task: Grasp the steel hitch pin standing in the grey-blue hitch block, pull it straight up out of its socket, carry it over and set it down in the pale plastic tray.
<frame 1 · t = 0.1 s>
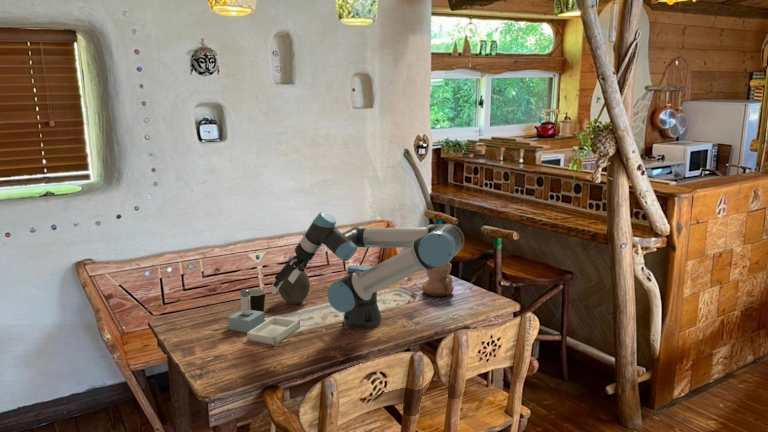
hand: (281, 286, 234), 15 cm above the table, tool tilted 35°, fingers open, 13 cm apart
pin: (246, 308, 232), in the hitch block
coffee mug: (257, 314, 246), on the table
ceramic jug: (438, 294, 271), on the table
tray: (274, 333, 226), on the table
hitch block: (246, 326, 233), on the table
cantaloupe: (294, 302, 260), on the table
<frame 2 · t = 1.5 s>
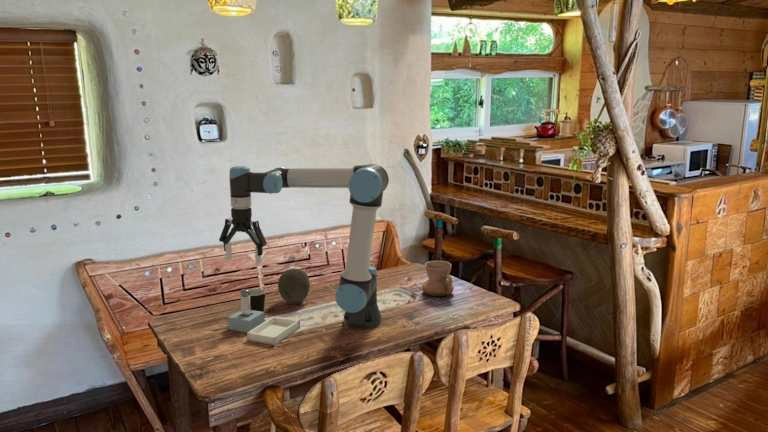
hand: (243, 261, 228), 27 cm above the table, tool pointing down, fingers open, 13 cm apart
nothing on the table moved.
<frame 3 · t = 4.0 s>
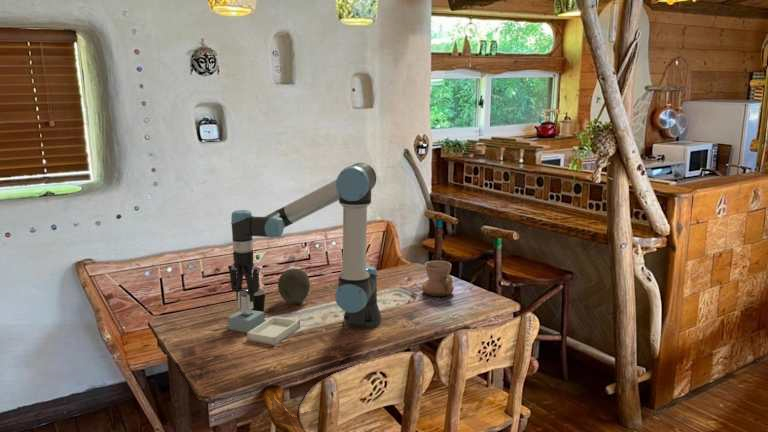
hand: (245, 308, 232), 8 cm above the table, tool pointing down, fingers closed on pin, 4 cm apart
pin: (246, 308, 232), in the hitch block, touching gripper
everything else where it was.
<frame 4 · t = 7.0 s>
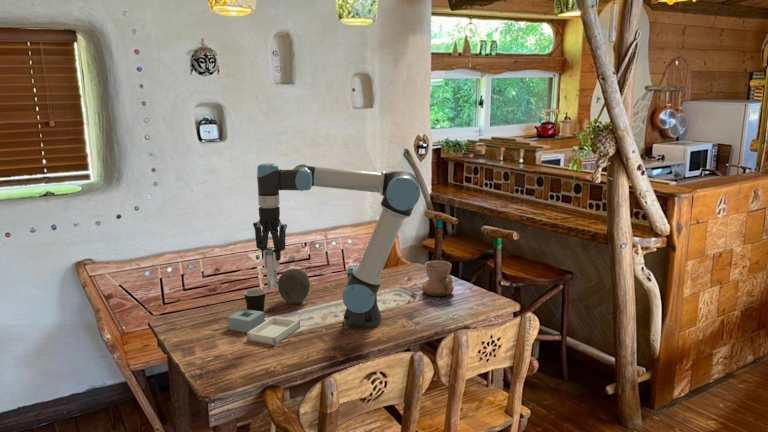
hand: (271, 267, 221), 26 cm above the table, tool pointing down, fingers closed on pin, 4 cm apart
pin: (271, 268, 221), point 26 cm above the table, touching gripper
everything else where it was.
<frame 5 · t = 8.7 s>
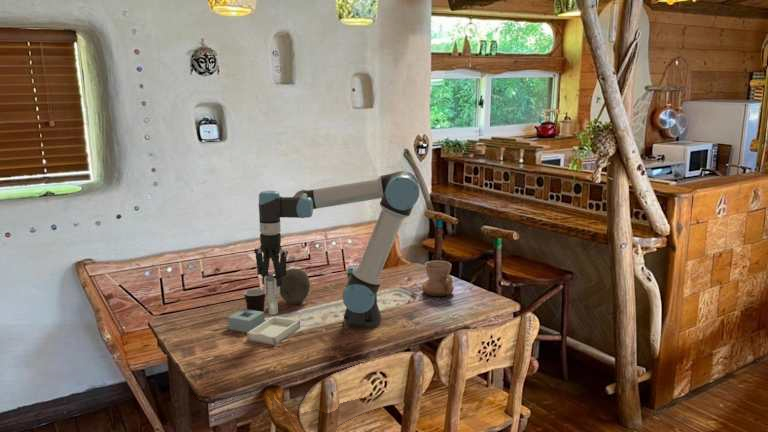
hand: (272, 293, 223), 16 cm above the table, tool pointing down, fingers closed on pin, 4 cm apart
pin: (272, 293, 223), point 16 cm above the table, touching gripper
everything else where it was.
when the fingers open (10 cm above the table, at t = 10.2 s): pin drops 1 cm, resting on tray.
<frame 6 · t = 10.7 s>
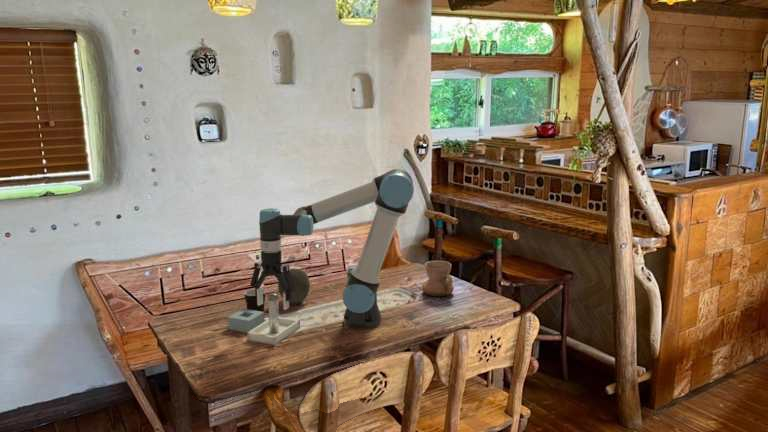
hand: (273, 306, 224), 11 cm above the table, tool pointing down, fingers open, 11 cm apart
pin: (273, 313, 224), in the tray, point 8 cm above the table
everything else where it was.
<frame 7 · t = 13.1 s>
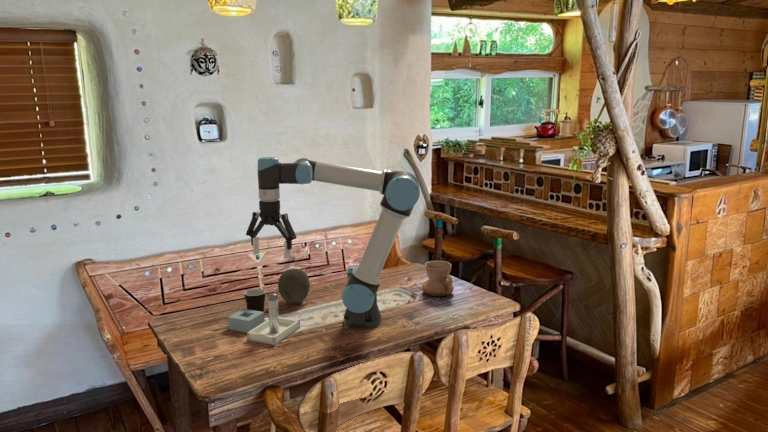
hand: (271, 256, 220), 31 cm above the table, tool pointing down, fingers open, 13 cm apart
nothing on the table moved.
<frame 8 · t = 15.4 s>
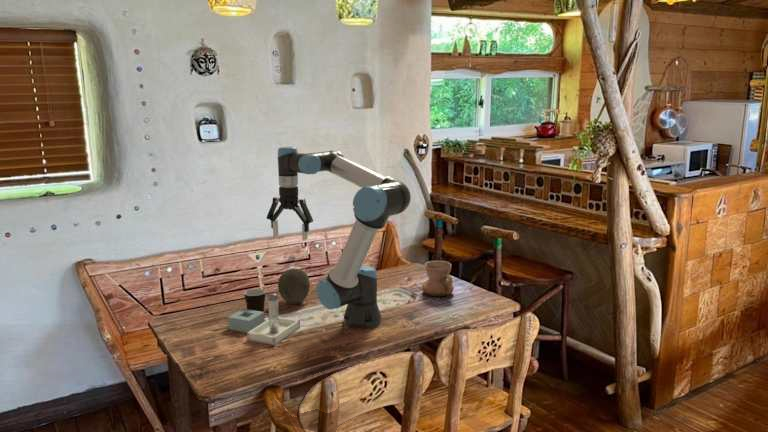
hand: (290, 238, 239), 33 cm above the table, tool pointing down, fingers open, 13 cm apart
nothing on the table moved.
at the end: pin inside the target area on the tray (0.1 cm from its centre), point 8.3 cm above the tray's base; the gripper is holding nothing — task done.
